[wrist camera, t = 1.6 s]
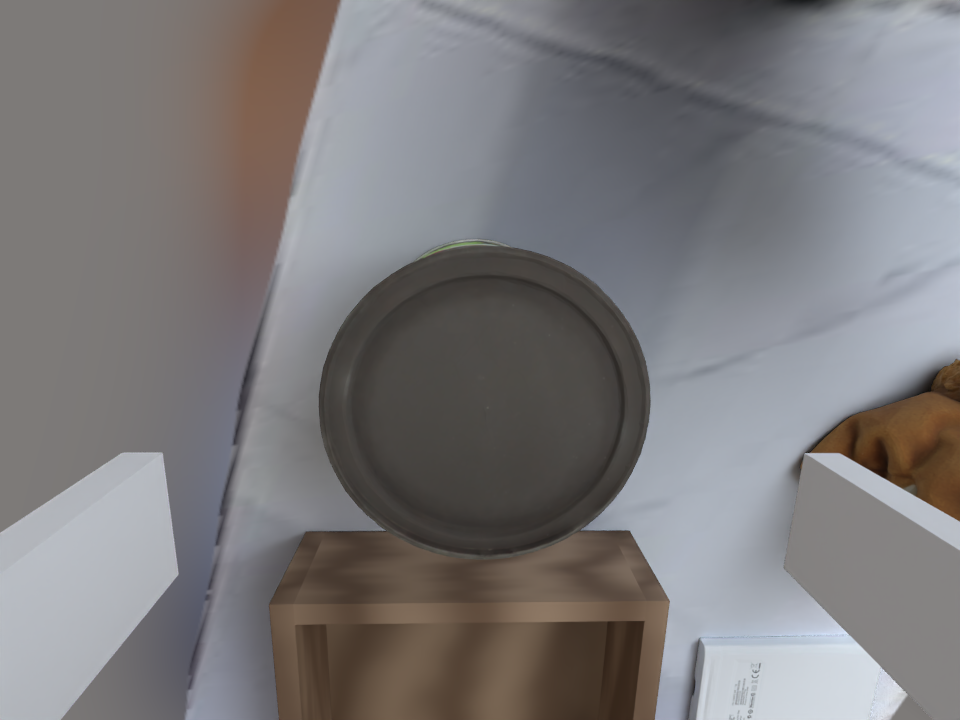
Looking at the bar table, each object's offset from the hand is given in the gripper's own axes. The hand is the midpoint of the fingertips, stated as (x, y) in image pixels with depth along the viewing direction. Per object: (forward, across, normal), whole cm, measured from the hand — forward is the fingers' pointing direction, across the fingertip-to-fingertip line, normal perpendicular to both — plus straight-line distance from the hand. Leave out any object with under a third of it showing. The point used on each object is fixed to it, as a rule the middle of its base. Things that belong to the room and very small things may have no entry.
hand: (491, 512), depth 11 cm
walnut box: (+20, 0, -23) cm, 30 cm away
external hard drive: (+20, +22, -25) cm, 39 cm away
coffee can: (+20, 0, 0) cm, 20 cm away
